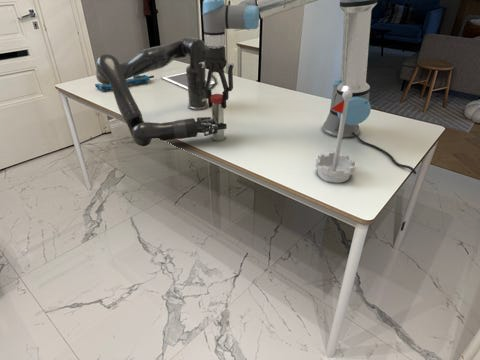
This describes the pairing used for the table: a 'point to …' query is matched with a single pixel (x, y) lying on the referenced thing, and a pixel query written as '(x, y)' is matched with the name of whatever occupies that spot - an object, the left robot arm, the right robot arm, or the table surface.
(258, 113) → the table surface
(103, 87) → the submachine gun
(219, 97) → the lid
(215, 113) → the jar
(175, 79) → the tablet
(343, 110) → the flag stand
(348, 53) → the right robot arm
